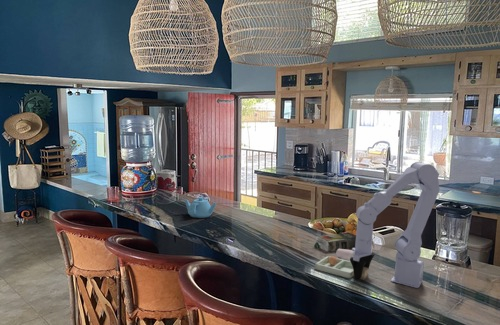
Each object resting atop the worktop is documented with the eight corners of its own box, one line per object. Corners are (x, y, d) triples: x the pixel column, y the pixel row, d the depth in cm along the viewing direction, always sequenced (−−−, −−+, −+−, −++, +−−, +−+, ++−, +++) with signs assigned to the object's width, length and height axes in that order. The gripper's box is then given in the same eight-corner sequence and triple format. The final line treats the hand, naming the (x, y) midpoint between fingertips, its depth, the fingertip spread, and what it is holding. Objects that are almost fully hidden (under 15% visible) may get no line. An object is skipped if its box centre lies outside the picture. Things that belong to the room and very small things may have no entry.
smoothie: (342, 242, 165) (370, 250, 154) (344, 256, 167) (373, 264, 156) (332, 249, 162) (360, 257, 151) (335, 263, 163) (363, 272, 152)
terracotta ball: (338, 264, 155) (339, 256, 155) (335, 267, 152) (335, 258, 152) (330, 262, 157) (330, 254, 157) (326, 265, 154) (327, 256, 154)
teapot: (183, 213, 232) (183, 195, 231) (207, 211, 239) (207, 194, 238) (191, 219, 219) (192, 200, 218) (216, 217, 226) (217, 199, 225)
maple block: (367, 278, 145) (368, 268, 144) (364, 282, 141) (365, 271, 141) (357, 275, 147) (358, 265, 147) (353, 279, 144) (354, 268, 143)
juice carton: (325, 254, 170) (326, 240, 170) (312, 247, 179) (313, 234, 178) (361, 250, 179) (362, 237, 179) (346, 244, 188) (347, 231, 188)
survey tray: (360, 271, 152) (361, 264, 152) (349, 280, 142) (350, 273, 142) (327, 262, 160) (327, 255, 159) (314, 270, 150) (315, 263, 150)
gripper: (359, 232, 151) (357, 266, 152) (346, 241, 139) (343, 277, 140) (378, 236, 147) (375, 271, 148) (365, 245, 135) (362, 283, 136)
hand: (361, 274), depth 144 cm, fingers open, 7 cm apart
